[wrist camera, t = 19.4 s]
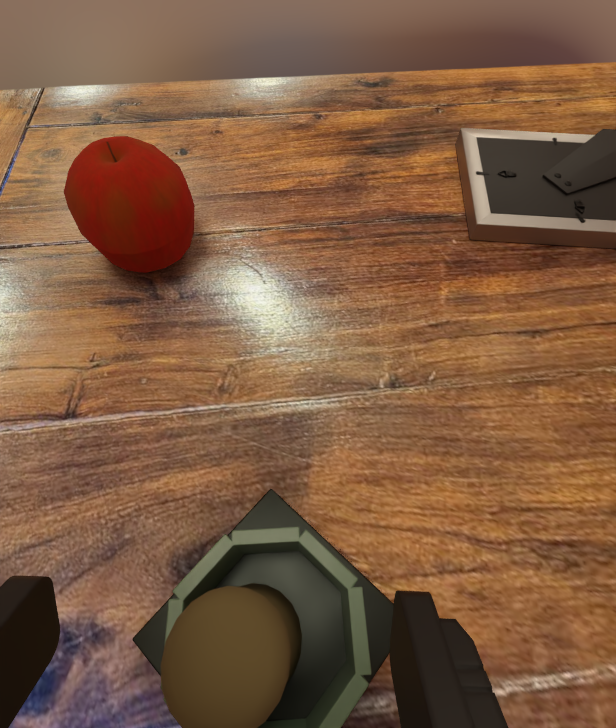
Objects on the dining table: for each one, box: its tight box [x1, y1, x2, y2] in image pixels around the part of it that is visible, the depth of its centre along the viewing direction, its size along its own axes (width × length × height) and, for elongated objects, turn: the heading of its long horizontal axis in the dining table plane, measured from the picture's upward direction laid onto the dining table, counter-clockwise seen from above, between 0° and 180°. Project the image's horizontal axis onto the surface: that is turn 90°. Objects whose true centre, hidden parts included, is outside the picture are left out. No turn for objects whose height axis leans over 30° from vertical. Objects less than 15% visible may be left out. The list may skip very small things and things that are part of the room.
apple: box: [64, 136, 194, 273], centre depth 37 cm, size 10×10×12 cm
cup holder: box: [133, 489, 394, 728], centre depth 24 cm, size 12×12×6 cm
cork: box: [161, 583, 302, 728], centre depth 21 cm, size 6×6×11 cm
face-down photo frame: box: [455, 128, 616, 249], centre depth 45 cm, size 16×3×21 cm
